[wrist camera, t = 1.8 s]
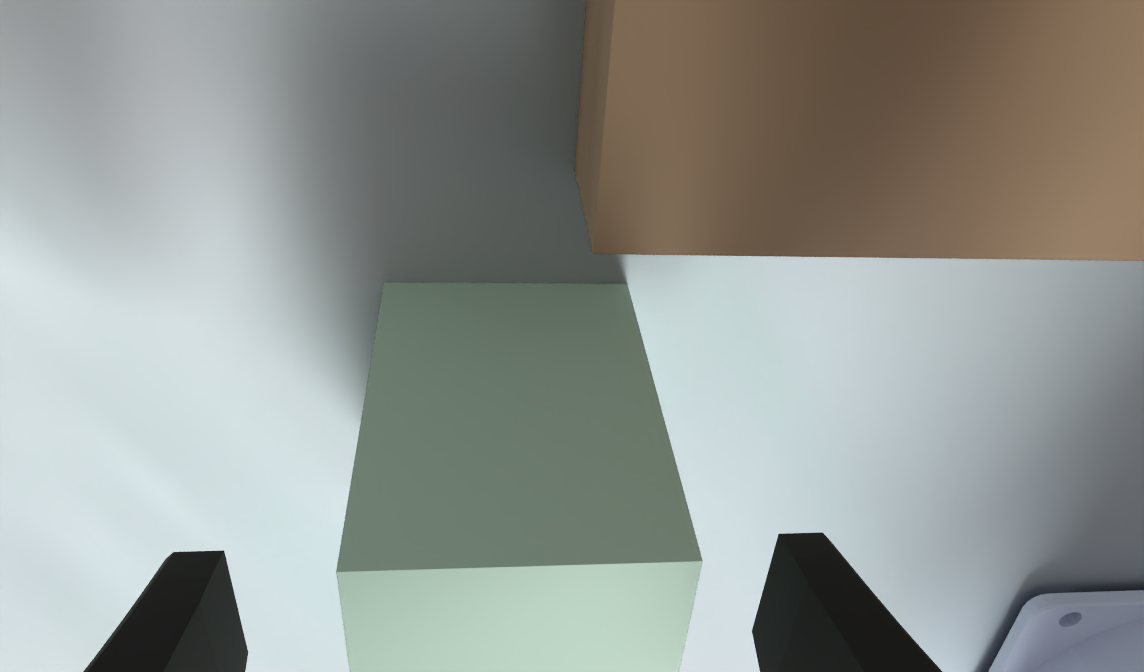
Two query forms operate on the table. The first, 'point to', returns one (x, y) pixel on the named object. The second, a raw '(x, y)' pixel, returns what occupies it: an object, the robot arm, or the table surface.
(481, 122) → the table surface
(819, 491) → the table surface
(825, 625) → the robot arm
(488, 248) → the table surface
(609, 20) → the walnut plinth
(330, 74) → the table surface
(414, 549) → the green block
